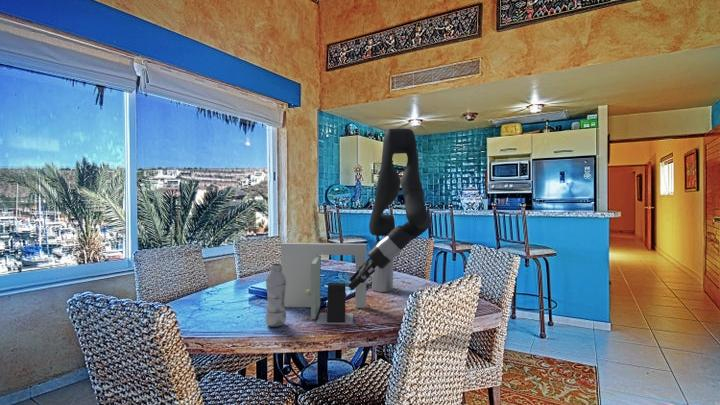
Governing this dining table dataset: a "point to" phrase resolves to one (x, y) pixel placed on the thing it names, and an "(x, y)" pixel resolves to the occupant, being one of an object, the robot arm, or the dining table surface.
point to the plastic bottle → (276, 296)
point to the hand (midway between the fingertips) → (350, 284)
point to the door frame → (316, 275)
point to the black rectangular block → (336, 302)
